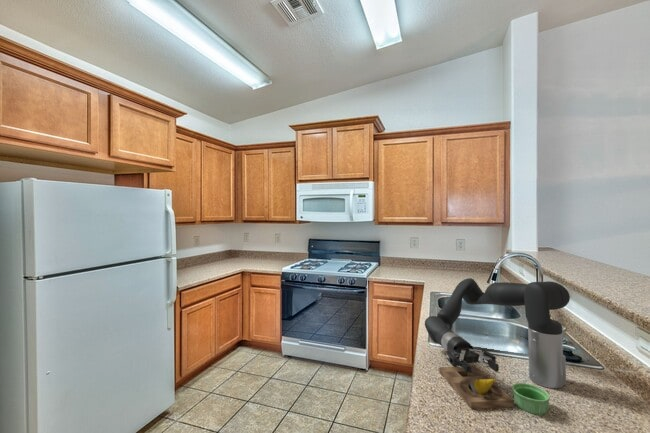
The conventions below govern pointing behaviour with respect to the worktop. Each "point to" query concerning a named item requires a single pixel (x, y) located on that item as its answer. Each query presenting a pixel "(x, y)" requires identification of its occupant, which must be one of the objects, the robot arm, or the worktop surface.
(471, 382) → the drill bit
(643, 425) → the worktop surface
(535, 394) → the ramekin
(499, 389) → the socket board
